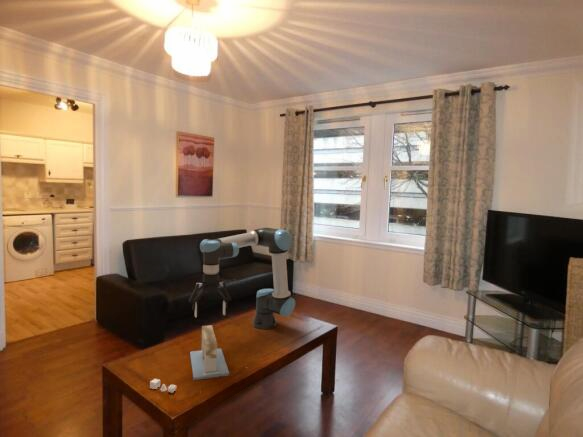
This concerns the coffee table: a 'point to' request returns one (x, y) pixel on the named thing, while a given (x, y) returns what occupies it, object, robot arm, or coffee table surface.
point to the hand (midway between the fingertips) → (210, 315)
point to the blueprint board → (200, 365)
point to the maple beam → (209, 342)
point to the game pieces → (156, 383)
